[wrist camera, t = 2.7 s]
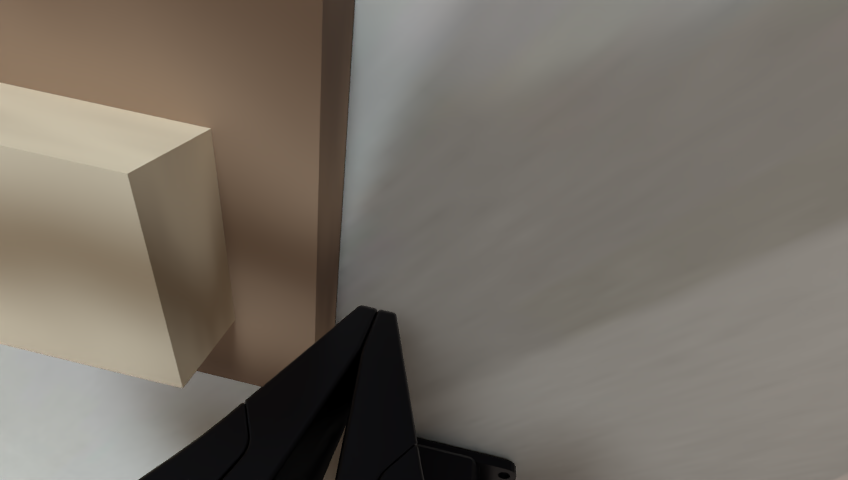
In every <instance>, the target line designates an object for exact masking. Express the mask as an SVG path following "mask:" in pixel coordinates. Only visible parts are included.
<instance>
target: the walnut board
mask: <svg viewBox="0 0 848 480" xmlns="http://www.w3.org/2000/svg"><path fill="white" fill-rule="evenodd" d="M354 2H355V0H0V83H4V84H9V85H13V86H18V87H23V88H27V89H32V90H36V91H41V92H46V93H50V94H55V95H59V96H64V97H68V98H73V99H78V100H82V101H87V102H91V103H96V104H100V105H105V106H110V107H114V108H119V109H123V110H128V111H133V112H137V113H142V114H146V115H151V116H155V117H160V118H165V119H169V120H174V121H178V122H183V123H188V124H192V125H197V126H201V127H206V128H210V129H211V133H212V141H213V149H214V157H215V165H216V172H217V180H218V188H219V196H220V204H221V212H222V220H223V228H224V235H225V243H226V251H227V259H228V267H229V275H230V283H231V290H232V298H233V306H234V314H235V321H234V322H233V323H232V325H231V326H230V327H229V329H228V330H227V331H226V333H225V334H224V335H223V337H222V338H221V339H220V340H219V342H218V343H217V344H216V346H215V347H214V348H213V350H212V351H211V352H210V354H209V355H208V356H207V358H206V359H205V360H204V361H203V363H202V364H201V365H200V367H199V368H198V369H197V371H200V372H204V373H208V374H212V375H216V376H220V377H224V378H228V379H233V380H237V381H241V382H245V383H249V384H253V385H257V386H261V387H262V386H263V385H265V384H266V383H267V382H268V381H269V380H271V379H272V378H273V377H274V376H275V375H277V374H278V373H279V372H280V371H281V370H283V369H284V368H285V367H286V366H288V365H289V364H290V363H291V362H292V361H294V360H295V359H296V358H297V357H298V356H300V355H301V354H302V353H303V352H304V351H306V350H307V349H308V348H309V347H310V346H312V345H313V344H314V343H315V342H316V341H318V340H319V339H320V338H321V337H322V336H324V335H325V334H326V333H327V332H328V331H330V330H331V329H332V328H333V327H334V326H335V317H336V300H337V284H338V267H339V251H340V234H341V217H342V201H343V184H344V168H345V151H346V135H347V118H348V101H349V85H350V68H351V52H352V35H353V19H354Z"/></svg>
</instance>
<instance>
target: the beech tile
mask: <svg viewBox="0 0 848 480" xmlns="http://www.w3.org/2000/svg"><path fill="white" fill-rule="evenodd" d="M234 321H235V314H234V306H233V298H232V290H231V283H230V275H229V267H228V259H227V251H226V243H225V235H224V228H223V220H222V212H221V204H220V196H219V188H218V180H217V172H216V165H215V157H214V149H213V141H212V133H211V129H210V128H206V127H201V126H197V125H192V124H188V123H183V122H178V121H174V120H169V119H165V118H160V117H155V116H151V115H146V114H142V113H137V112H133V111H128V110H123V109H119V108H114V107H110V106H105V105H100V104H96V103H91V102H87V101H82V100H78V99H73V98H68V97H64V96H59V95H55V94H50V93H46V92H41V91H36V90H32V89H27V88H23V87H18V86H13V85H9V84H4V83H0V344H3V345H7V346H11V347H15V348H19V349H23V350H28V351H32V352H36V353H40V354H44V355H48V356H52V357H56V358H60V359H64V360H68V361H73V362H77V363H81V364H85V365H89V366H93V367H97V368H101V369H105V370H109V371H113V372H117V373H122V374H126V375H130V376H134V377H138V378H142V379H146V380H150V381H154V382H158V383H162V384H167V385H171V386H175V387H179V388H184V386H185V385H186V384H187V382H188V381H189V380H190V378H191V377H192V376H193V375H194V373H195V372H196V371H197V369H198V368H199V367H200V365H201V364H202V363H203V361H204V360H205V359H206V358H207V356H208V355H209V354H210V352H211V351H212V350H213V348H214V347H215V346H216V344H217V343H218V342H219V340H220V339H221V338H222V337H223V335H224V334H225V333H226V331H227V330H228V329H229V327H230V326H231V325H232V323H233V322H234Z"/></svg>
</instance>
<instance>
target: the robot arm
mask: <svg viewBox="0 0 848 480" xmlns="http://www.w3.org/2000/svg"><path fill="white" fill-rule="evenodd" d="M345 426H346V428H345ZM344 428H345V433H344V438H343V443H342V448H341V453H340V458H339V463H338V468H337V473H336V478H335V480H515V479H516V466H515V464H514V463H512V462H511V461H508V460H505V459H501V458H497V457H492V456H488V455H484V454H480V453H476V452H472V451H468V450H464V449H460V448H456V447H451V446H447V445H443V444H439V443H435V442H431V441H427V440H423V439H419V438H416V432H415V426H414V420H413V414H412V408H411V402H410V396H409V390H408V384H407V378H406V371H405V365H404V359H403V353H402V347H401V341H400V335H399V329H398V323H397V317H396V314H395V313H393V312H388V311H384V310H379V311H378V312H377V310H376V309H375V308H371V307H367V306H359V307H357V308H356V309H355V310H354V311H353V312H351V313H350V314H349V315H348V316H347V317H345V318H344V319H343V320H342V321H341V322H339V323H338V324H337V325H336V326H334V327H333V328H332V329H331V330H330V331H328V332H327V333H326V334H325V335H324V336H322V337H321V338H320V339H319V340H318V341H316V342H315V343H314V344H313V345H312V346H310V347H309V348H308V349H307V350H306V351H304V352H303V353H302V354H301V355H300V356H298V357H297V358H296V359H295V360H294V361H292V362H291V363H290V364H289V365H288V366H286V367H285V368H284V369H283V370H281V371H280V372H279V373H278V374H277V375H275V376H274V377H273V378H272V379H271V380H269V381H268V382H267V383H266V384H265V385H263V386H262V387H261V388H260V389H259V390H257V391H256V392H255V393H254V394H253V395H251V396H250V397H249V398H248V399H247V400H246V401H245V404H244V403H242V404H240V405H239V406H238V407H237V408H235V409H234V410H233V411H232V412H231V413H230V414H228V415H227V416H226V417H225V418H223V419H222V420H221V421H220V422H218V423H217V424H216V425H214V426H213V427H212V428H211V429H209V430H208V431H207V432H206V433H204V434H203V435H202V436H200V437H199V438H198V439H196V440H195V441H193V442H192V443H191V444H189V445H188V446H186V447H185V448H184V449H182V450H181V451H179V452H178V453H176V454H175V455H174V456H172V457H171V458H169V459H168V460H166V461H165V462H163V463H162V464H161V465H159V466H158V467H156V468H155V469H153V470H152V471H150V472H149V473H147V474H146V475H144V476H143V477H142V478H140V479H139V480H323V477H324V475H325V473H326V470H327V468H328V466H329V463H330V461H331V459H332V456H333V454H334V452H335V449H336V447H337V445H338V442H339V440H340V438H341V435H342V433H343V431H344Z"/></svg>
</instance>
